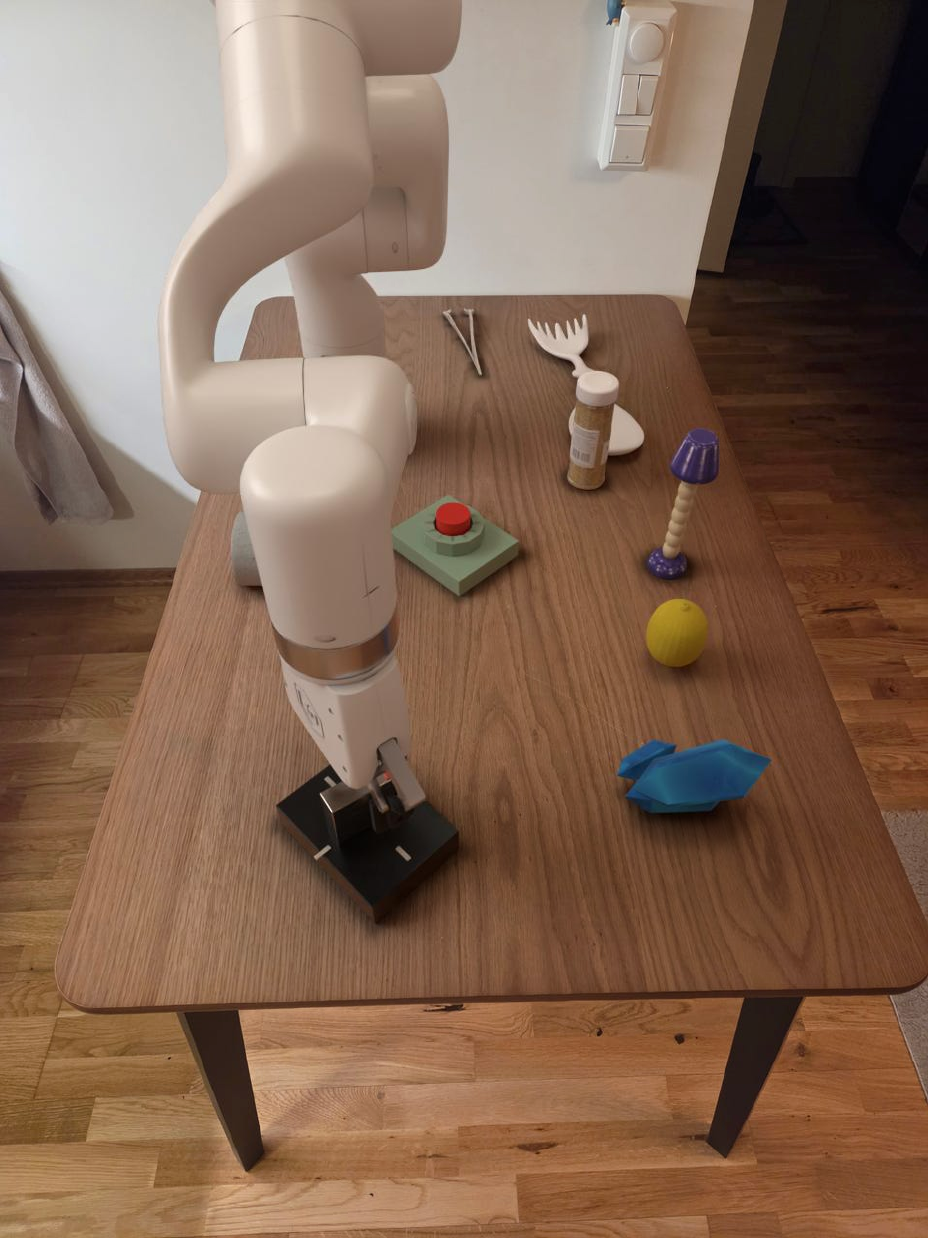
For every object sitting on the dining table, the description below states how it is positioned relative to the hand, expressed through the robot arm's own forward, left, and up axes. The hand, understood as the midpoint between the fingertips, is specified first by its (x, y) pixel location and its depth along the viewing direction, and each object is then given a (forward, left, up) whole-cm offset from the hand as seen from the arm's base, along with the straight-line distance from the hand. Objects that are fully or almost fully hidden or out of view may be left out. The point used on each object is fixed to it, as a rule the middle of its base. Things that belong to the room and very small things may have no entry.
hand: (360, 772), depth 64 cm
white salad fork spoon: (-30, +62, -9) cm, 70 cm away
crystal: (+16, +21, -9) cm, 28 cm away
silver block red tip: (0, 0, -6) cm, 6 cm away
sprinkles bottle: (-18, +49, -9) cm, 53 cm away
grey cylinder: (-31, +14, -9) cm, 35 cm away
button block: (-20, +29, -9) cm, 36 cm away
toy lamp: (-2, +44, -9) cm, 45 cm away
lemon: (+6, +33, -9) cm, 34 cm away
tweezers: (-50, +61, -9) cm, 79 cm away
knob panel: (0, 0, -9) cm, 9 cm away
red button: (-20, +29, -5) cm, 35 cm away
